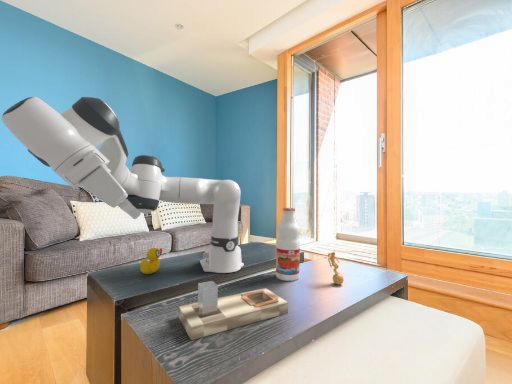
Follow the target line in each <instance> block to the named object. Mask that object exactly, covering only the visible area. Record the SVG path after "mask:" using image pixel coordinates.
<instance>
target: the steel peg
mask: <svg viewBox="0 0 512 384" xmlns="http://www.w3.org/2000/svg"><path fill="white" fill-rule="evenodd" d="M218 298H219V285H218V284H217V283H215V282H214V281H213V280H210V281H209V280H208V281H203V282H198V283H197V302H198V316H199V318H204V317H208V316H212V315H217V309H218Z"/></svg>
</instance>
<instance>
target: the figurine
mask: <svg viewBox="0 0 512 384" xmlns="http://www.w3.org/2000/svg"><path fill="white" fill-rule="evenodd" d="M327 257H328V258H327V260H328V264H329V266H330V268H332V267H333V269H332V270H333V273H334V274H333V275H332V281H333V283H334V284H335V285H337V286H338V285H342V284H343V283H344V277H343V275H342V274H340V272H338V271H337V269H339V264H338V263H340V261H339V260H338V258H337V257H336V252H335V251H332V252H328V254H327ZM336 261H337V262H338V263H337V262H336Z"/></svg>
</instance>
